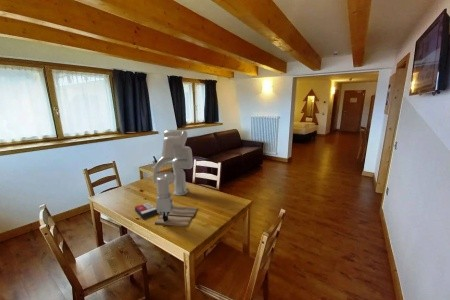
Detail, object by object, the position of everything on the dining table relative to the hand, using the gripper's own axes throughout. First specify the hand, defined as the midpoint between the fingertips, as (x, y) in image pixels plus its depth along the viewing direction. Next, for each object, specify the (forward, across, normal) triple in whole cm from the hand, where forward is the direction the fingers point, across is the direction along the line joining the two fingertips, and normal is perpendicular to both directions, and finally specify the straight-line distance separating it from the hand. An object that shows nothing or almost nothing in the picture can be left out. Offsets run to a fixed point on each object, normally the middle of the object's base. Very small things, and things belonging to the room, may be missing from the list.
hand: (165, 220), depth 141 cm
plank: (+1, -5, -1) cm, 5 cm away
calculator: (+2, +19, -10) cm, 22 cm away
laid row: (+1, -5, -13) cm, 14 cm away
